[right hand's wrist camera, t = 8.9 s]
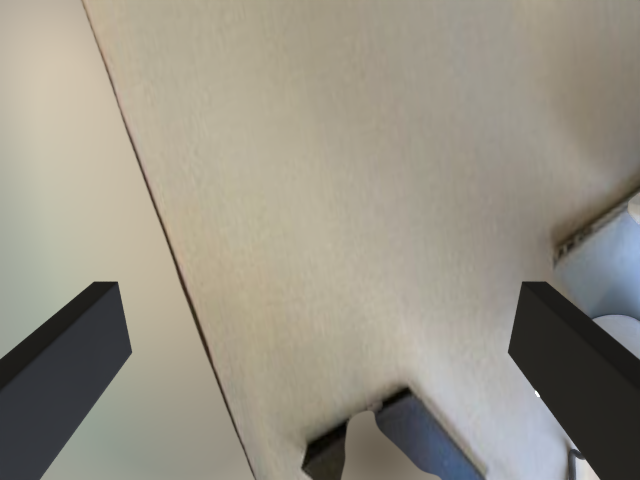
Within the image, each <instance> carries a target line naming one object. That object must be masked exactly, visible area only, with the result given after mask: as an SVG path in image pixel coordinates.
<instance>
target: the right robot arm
mask: <svg viewBox="0 0 640 480" xmlns="http://www.w3.org/2000/svg"><path fill="white" fill-rule="evenodd" d="M131 353H132V349H131V345H130V339H129V335H128V330H127V325H126V320H125V315H124V310H123V305H122V300H121V295H120V291H119V285H118V282H93V283H92V284H91V285H89V286H88V287H87V288H86V289H85V290H83V291H82V292H81V293H80V294H79V295H77V296H76V297H75V298H74V299H73V300H71V301H70V302H69V303H68V304H67V305H65V306H64V307H63V308H62V309H60V310H59V311H58V312H57V313H56V314H54V315H53V316H52V317H51V318H50V319H48V320H47V321H46V322H45V323H44V324H42V325H41V326H40V327H39V328H38V329H36V330H35V331H34V332H33V333H32V334H30V335H29V336H28V337H27V338H25V339H24V340H23V341H22V342H21V343H19V344H18V345H17V346H16V347H15V348H13V349H12V350H11V351H10V352H9V353H7V354H6V355H5V356H4V357H3V358H1V359H0V480H40V479H41V477H42V476H43V474H44V473H45V472H46V470H47V469H48V468H49V466H50V465H51V463H52V462H53V461H54V459H55V458H56V457H57V455H58V454H59V452H60V451H61V450H62V448H63V447H64V445H65V444H66V443H67V441H68V440H69V439H70V437H71V436H72V435H73V433H74V432H75V430H76V429H77V428H78V426H79V425H80V424H81V422H82V421H83V419H84V418H85V417H86V415H87V414H88V413H89V411H90V410H91V408H92V407H93V406H94V404H95V403H96V401H97V400H98V399H99V397H100V396H101V395H102V393H103V392H104V391H105V389H106V388H107V386H108V385H109V384H110V382H111V381H112V380H113V378H114V377H115V375H116V374H117V373H118V371H119V370H120V369H121V367H122V366H123V364H124V363H125V362H126V360H127V359H128V358H129V356H130V355H131ZM508 353H509V355H510V356H511V358H512V359H513V360H514V362H515V363H516V364H517V366H518V367H519V369H520V370H521V371H522V373H523V374H524V375H525V377H526V378H527V380H528V381H529V382H530V384H531V385H532V386H533V388H534V389H535V391H536V392H537V393H538V395H539V396H540V397H541V399H542V400H543V402H544V403H545V404H546V406H547V407H548V408H549V410H550V411H551V413H552V414H553V415H554V417H555V418H556V419H557V421H558V422H559V424H560V425H561V426H562V428H563V429H564V430H565V432H566V433H567V435H568V436H569V437H570V439H571V440H572V441H573V443H574V444H575V446H576V447H577V448H578V450H579V451H580V452H581V454H582V455H583V457H584V458H585V459H586V461H587V462H588V463H589V465H590V466H591V468H592V469H593V470H594V472H595V473H596V474H597V476H598V477H599V479H600V480H640V359H639V358H637V357H636V356H635V355H634V354H633V353H631V352H630V351H629V350H628V349H627V348H625V347H624V346H623V345H622V344H621V343H619V342H618V341H617V340H616V339H615V338H613V337H612V336H611V335H610V334H608V333H607V332H606V331H605V330H604V329H602V328H601V327H600V326H599V325H598V324H596V323H595V322H594V321H593V320H592V319H590V318H589V317H588V316H587V315H586V314H584V313H583V312H582V311H581V310H580V309H578V308H577V307H576V306H575V305H573V304H572V303H571V302H570V301H569V300H567V299H566V298H565V297H564V296H563V295H561V294H560V293H559V292H558V291H557V290H555V289H554V288H553V287H552V286H551V285H549V284H548V283H547V282H522V285H521V290H520V295H519V300H518V305H517V310H516V315H515V320H514V325H513V330H512V334H511V339H510V344H509V349H508Z"/></svg>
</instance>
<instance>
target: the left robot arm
mask: <svg viewBox="0 0 640 480" xmlns="http://www.w3.org/2000/svg"><path fill="white" fill-rule="evenodd" d="M627 211H628V213H629V214H630V216H631V217H632V218H633V219H634V220H635V221H636V222H637V223H638V224H639V225H640V193H638V194H637V195H636V196H634V197H633V198H632V199H631V200H630V201H629V203H628V209H627ZM592 320H593V321H594V322H595V323H596V324H598V325H599V326H600V327H601V328H602V329H604V330H605V331H606V332H607V333H608V334H610V335H611V336H612V337H613V338H615V339H616V340H617V341H618V342H619V343H621V344H622V345H623V346H624V347H625V348H627V349H628V350H629V351H630V352H631V353H633V354H634V355H635V356H636V357H637V358H639V359H640V321H638V320H636V319H635V318H632V317H629V316H625V315H606V316H601V317H597V318H594V319H592ZM535 393H536V394H537V396H539V395H538V393H537V392H535ZM575 457H577V458H579V459H581V460H585V458H584V457H583V455H582V454H581V453H580V452H579V451H578V450H575V449H572V450H571V451H570V453H569V473H570V477H569V480H576V467H575Z"/></svg>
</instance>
